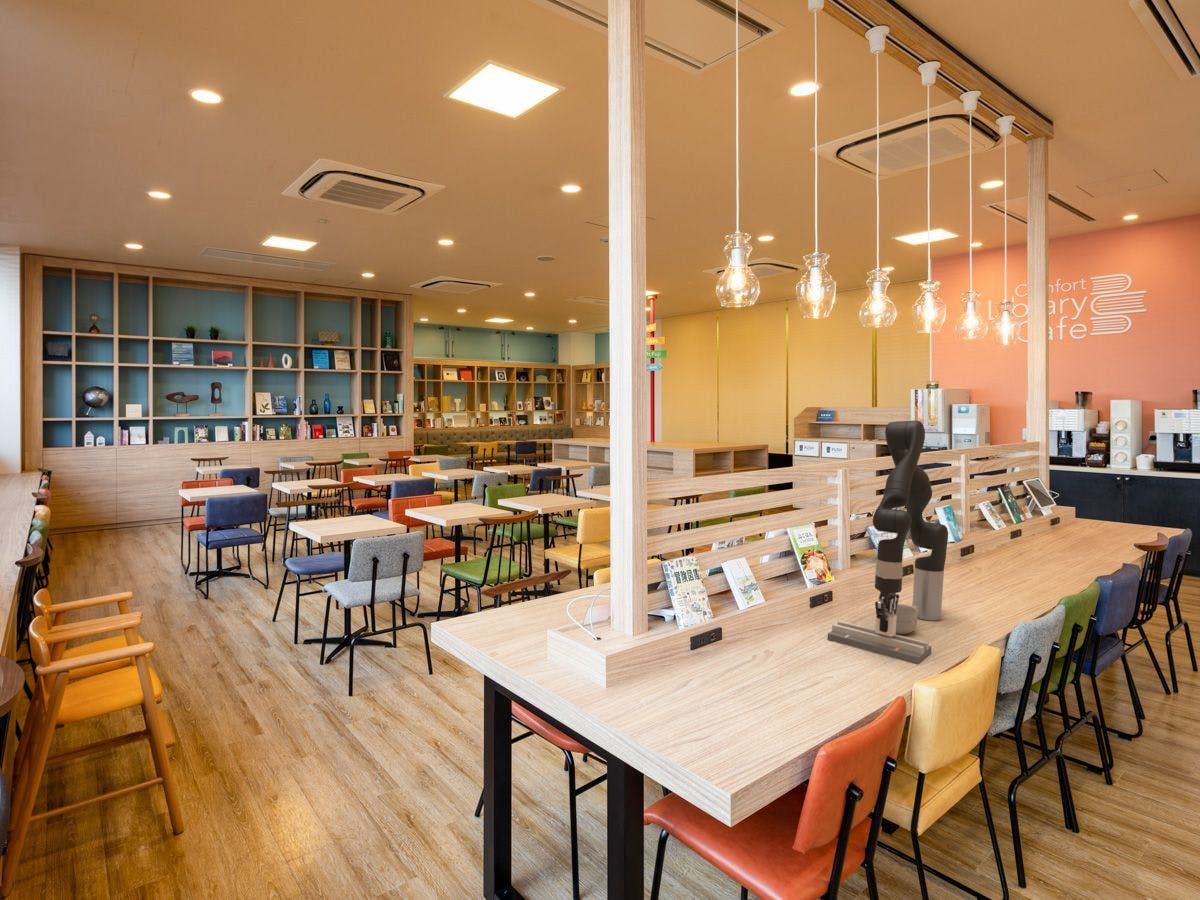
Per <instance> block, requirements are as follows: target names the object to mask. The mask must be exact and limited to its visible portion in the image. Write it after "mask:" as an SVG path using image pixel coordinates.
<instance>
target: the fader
mask: <svg viewBox="0 0 1200 900" xmlns="http://www.w3.org/2000/svg"><path fill="white" fill-rule="evenodd" d="M882 615H883V614H882ZM896 619H897V615H894V614H890V613H889V619H888V631H887V632H881V631H880V630H879V628H880V619H879V618H877V615H876V614H875V628H874V629H875V633H878V634H877V635H881V636H885V637H889V638H892V639H893V636H894V635H895V634H896V635H897V633H896Z"/></svg>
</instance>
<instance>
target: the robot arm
mask: <svg viewBox="0 0 1200 900" xmlns="http://www.w3.org/2000/svg"><path fill="white" fill-rule="evenodd" d="M884 437H885V440H886V441H885V442H886V444H887V447H888V450H889V453H890V456H891V458H892V461H893V464H894V468H893V469H892V470H891V471H890V473H889V474H888V476H887V478H886V481H885V485H884V491H883V496H882V499H881V501H880V503H879V505H878V506H877V508H876V510H875V511H874V513H873V516H872V525H873V527H874V529H876V530H877V532H878V531H879V532H883V533H892V534H896V536H895V537H894V538H888V539H887V538H886V539H880V540H879V541H878V544H877V553H876V554H877V555H876V556H877V557H876V563H875V576H874V589H876V591H879V595H878V600H876V601H875V603H874V605H875V606H874V607H875V616H876V615H877V618H879V619H880V628H879V630H880V631H881V632H887V631H888V619H889V613H890V614H896V610H897V605H898V604H899V599H900V594H898V593H900V592H902V590H903V573H904V572H903V571H904V566H903V558H904V557H903V556H904V547H905V542H906V539H907V536H908V534H909V533H910V537H911V543H913V545H914V546H915V547H917V548H922V549H926V550H931V553H930V555H927V556H921V557H917V558H915V561H914V569H913V571H914V573H913V574H914V575H913V587H912V588H913V591H912V603H911V606H917V607H918V609H919V614H918V616H917V619H920V620H925V621H934V622H935V621H940V620H941V619H942V606H943V605H942V604H943V592H944V588H943V587H944V573H945V563H946V560H947V559H946V558H947V549H948V542H949V530H948V527H947V526H946V525H945V524H941V523H936V522H928V521H925V520H924V518H923V513H924V510H925V509H926V507H928V505H929V503H930V502H931V499H932V496H933V489H932V485H931V481H930V477H929V475H928V474H927V472H926V471H925V470H924V469H923V468H922V467H920V466H919V465H918V463H919V460H920V457H921V454H922V451H923V448H924V446H925V445H924V444H925V441H926V440H925V438H926V431H925V426H924V424H923V423H922V421H920V420H899V421H898V420H897V421H890V422H888V423H887V425H885V429H884ZM906 450H907V451H906ZM902 507H905V509H906V510H904V509H902V510H901V509H897V508H902ZM882 614H883V615H882Z"/></svg>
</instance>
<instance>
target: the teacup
mask: <svg viewBox="0 0 1200 900" xmlns="http://www.w3.org/2000/svg"><path fill="white" fill-rule="evenodd" d="M918 614H919V609H918V607H917V606H912V605H909V604H908V605H907V604H903V603H898V605H897V610H896V614H894V615H897V619H896V635H908V634H911V633H912V632H913V631H915V630H916V629H917V625H918V618H917V616H918Z"/></svg>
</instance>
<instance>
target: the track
mask: <svg viewBox="0 0 1200 900" xmlns="http://www.w3.org/2000/svg"><path fill="white" fill-rule="evenodd" d="M875 629H876V628H872V627H867V626H863V625H859V624H855V623H852V622H847V621H843V620H838V621H837V623H832V625H831V631H830V632H828V633H827V641H831V642H834V643H838V644H842V645H846V646H850V647H853V648H857V649H861V650H863V651H864V650H865V651H868V652H871V653H876V654H879V655H883V656H886V657H890V658H894V659H897V660H901V661H906V662H908V663H911V664H917V665H919V664H920V663H921V662H923V661H924V660H925V659H926V658H927V657H928V656H929V655H931V654H932V646H931V645H930V644H929V643H930V642H929V641H928V642H927V641H924V640H920V639H915V638H913V637H909V636H908V637H907V636H905V635H901V634H897V633H896V634H895V635H894V636H893V639H892V638H889V637H885V636H881V635H877V634H878V633H875Z"/></svg>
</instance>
